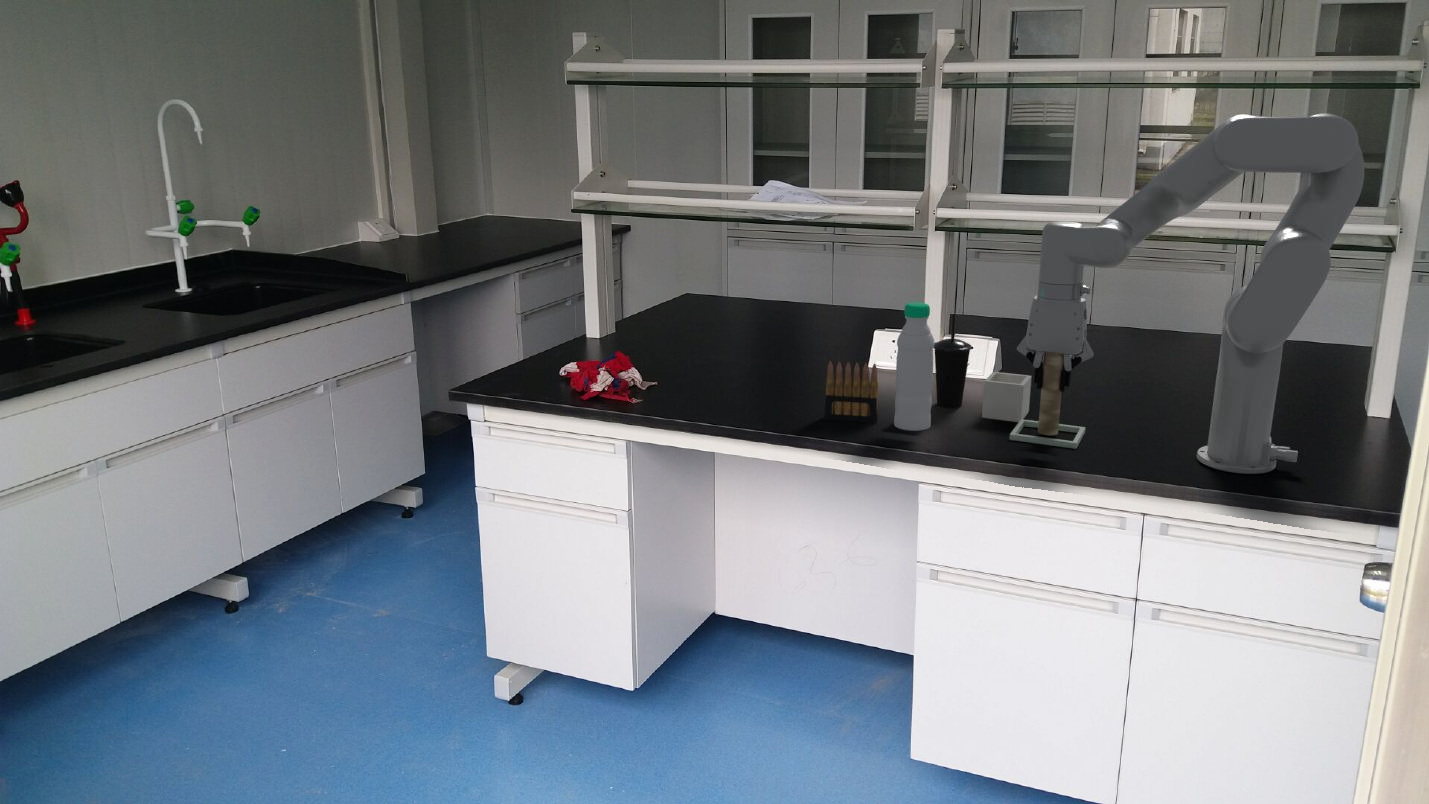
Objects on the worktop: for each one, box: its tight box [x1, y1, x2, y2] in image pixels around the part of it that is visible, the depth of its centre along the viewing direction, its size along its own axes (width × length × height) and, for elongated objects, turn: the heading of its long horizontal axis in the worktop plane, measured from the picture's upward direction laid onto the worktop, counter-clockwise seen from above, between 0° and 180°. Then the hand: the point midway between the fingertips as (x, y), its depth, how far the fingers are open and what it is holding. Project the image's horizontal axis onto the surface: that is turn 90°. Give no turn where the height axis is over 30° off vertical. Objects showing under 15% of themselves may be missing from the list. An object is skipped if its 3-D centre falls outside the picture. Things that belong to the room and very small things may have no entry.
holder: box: [981, 371, 1032, 423], centre depth 210 cm, size 8×8×8 cm
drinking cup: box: [933, 313, 973, 409], centre depth 215 cm, size 8×8×20 cm
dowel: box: [1037, 353, 1064, 436], centre depth 195 cm, size 4×4×18 cm
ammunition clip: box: [823, 360, 879, 424], centre depth 211 cm, size 11×2×12 cm, turn 75°
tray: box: [1009, 419, 1086, 449], centre depth 198 cm, size 12×10×2 cm
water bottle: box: [893, 302, 936, 432], centre depth 202 cm, size 7×7×25 cm
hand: (1051, 387), depth 195 cm, fingers closed on dowel, 3 cm apart
